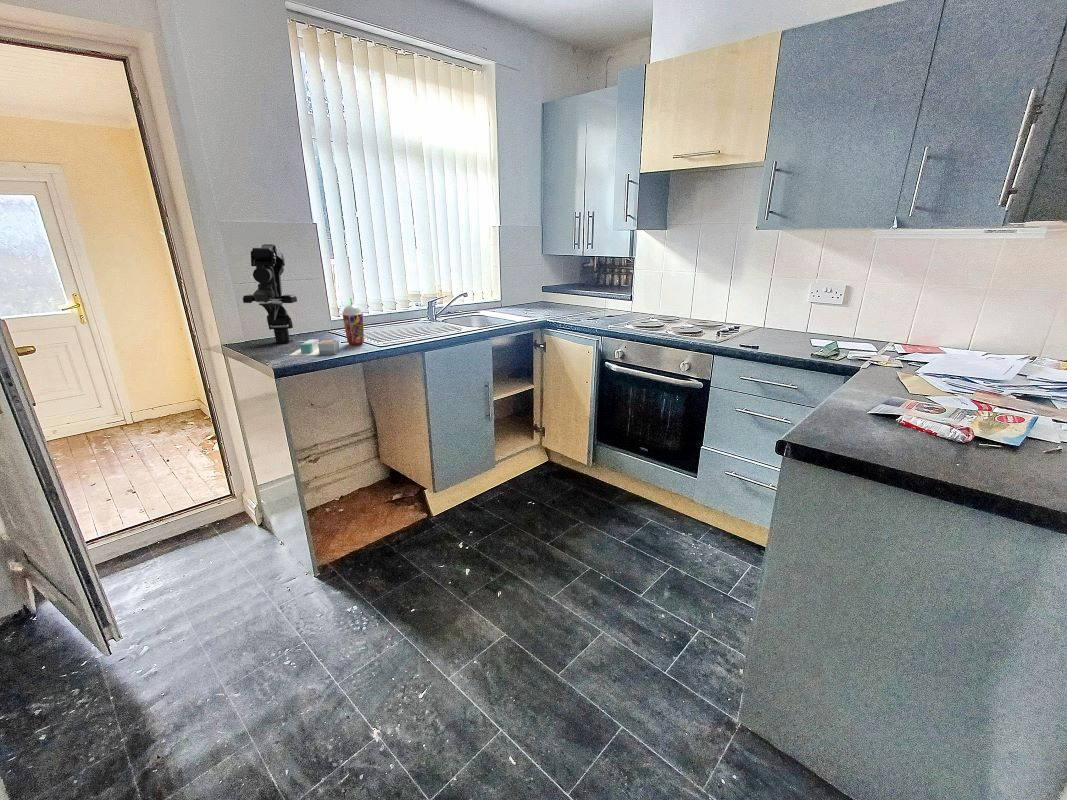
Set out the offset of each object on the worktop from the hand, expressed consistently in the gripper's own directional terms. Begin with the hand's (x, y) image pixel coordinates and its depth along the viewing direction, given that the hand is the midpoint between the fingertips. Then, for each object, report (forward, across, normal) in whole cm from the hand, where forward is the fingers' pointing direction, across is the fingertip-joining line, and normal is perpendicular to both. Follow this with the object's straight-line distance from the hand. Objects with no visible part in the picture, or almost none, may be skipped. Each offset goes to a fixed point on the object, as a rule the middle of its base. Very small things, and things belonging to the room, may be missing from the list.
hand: (273, 320), depth 189 cm
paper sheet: (+12, +14, -3) cm, 19 cm away
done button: (+10, +23, -7) cm, 26 cm away
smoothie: (+12, +29, +9) cm, 33 cm away
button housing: (+12, +23, -7) cm, 27 cm away
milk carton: (+12, +14, -3) cm, 19 cm away
